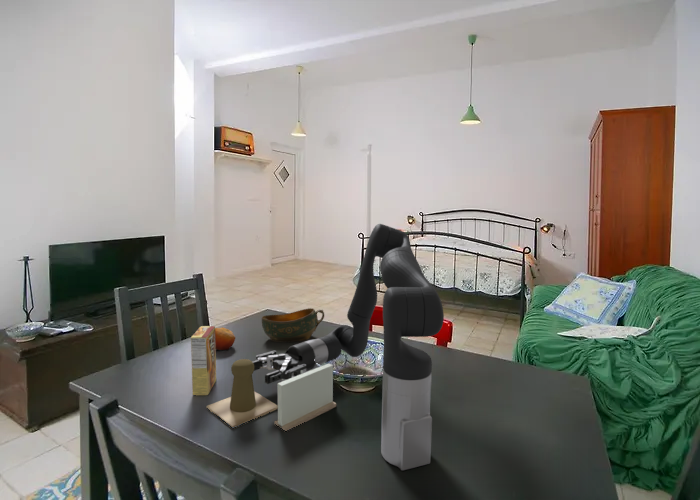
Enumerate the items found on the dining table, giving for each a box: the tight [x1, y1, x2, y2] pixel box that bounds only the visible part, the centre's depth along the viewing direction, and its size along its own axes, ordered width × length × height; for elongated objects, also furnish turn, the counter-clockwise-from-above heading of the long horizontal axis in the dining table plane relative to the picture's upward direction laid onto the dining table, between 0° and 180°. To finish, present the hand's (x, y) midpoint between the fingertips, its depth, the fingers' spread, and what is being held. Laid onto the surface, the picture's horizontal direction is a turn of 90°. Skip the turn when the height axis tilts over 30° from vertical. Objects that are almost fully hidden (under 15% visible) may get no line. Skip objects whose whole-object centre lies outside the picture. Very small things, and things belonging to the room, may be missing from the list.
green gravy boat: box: [261, 307, 325, 343], centre depth 142 cm, size 13×20×10 cm, turn 74°
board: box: [206, 390, 278, 428], centre depth 95 cm, size 12×12×1 cm
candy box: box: [190, 325, 217, 396], centre depth 104 cm, size 9×4×15 cm, turn 6°
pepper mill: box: [230, 358, 256, 412], centre depth 94 cm, size 6×6×11 cm
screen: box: [274, 362, 337, 432], centre depth 92 cm, size 15×4×10 cm, turn 136°
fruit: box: [215, 327, 236, 351], centre depth 132 cm, size 8×8×8 cm
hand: (255, 374), depth 97 cm, fingers open, 8 cm apart
